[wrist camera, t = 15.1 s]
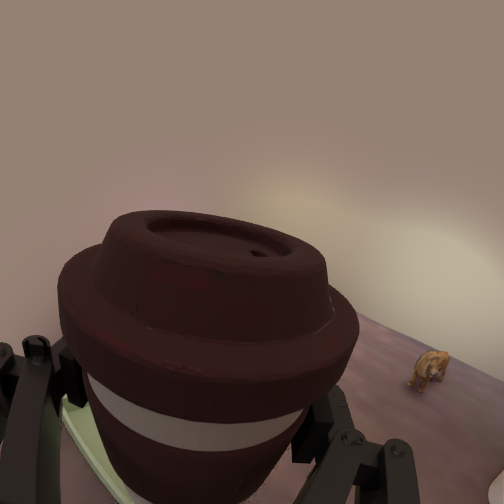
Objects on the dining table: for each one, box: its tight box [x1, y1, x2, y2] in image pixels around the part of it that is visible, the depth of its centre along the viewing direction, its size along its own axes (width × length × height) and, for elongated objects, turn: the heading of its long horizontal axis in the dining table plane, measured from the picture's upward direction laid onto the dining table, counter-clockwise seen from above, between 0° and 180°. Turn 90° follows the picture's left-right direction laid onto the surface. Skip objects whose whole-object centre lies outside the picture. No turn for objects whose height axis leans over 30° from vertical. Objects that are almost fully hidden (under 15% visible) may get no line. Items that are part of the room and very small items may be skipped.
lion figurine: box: [408, 350, 450, 393], centre depth 44 cm, size 15×5×9 cm, turn 123°
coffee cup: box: [57, 210, 359, 504], centre depth 11 cm, size 10×10×15 cm
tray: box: [62, 394, 135, 504], centre depth 25 cm, size 16×16×3 cm
